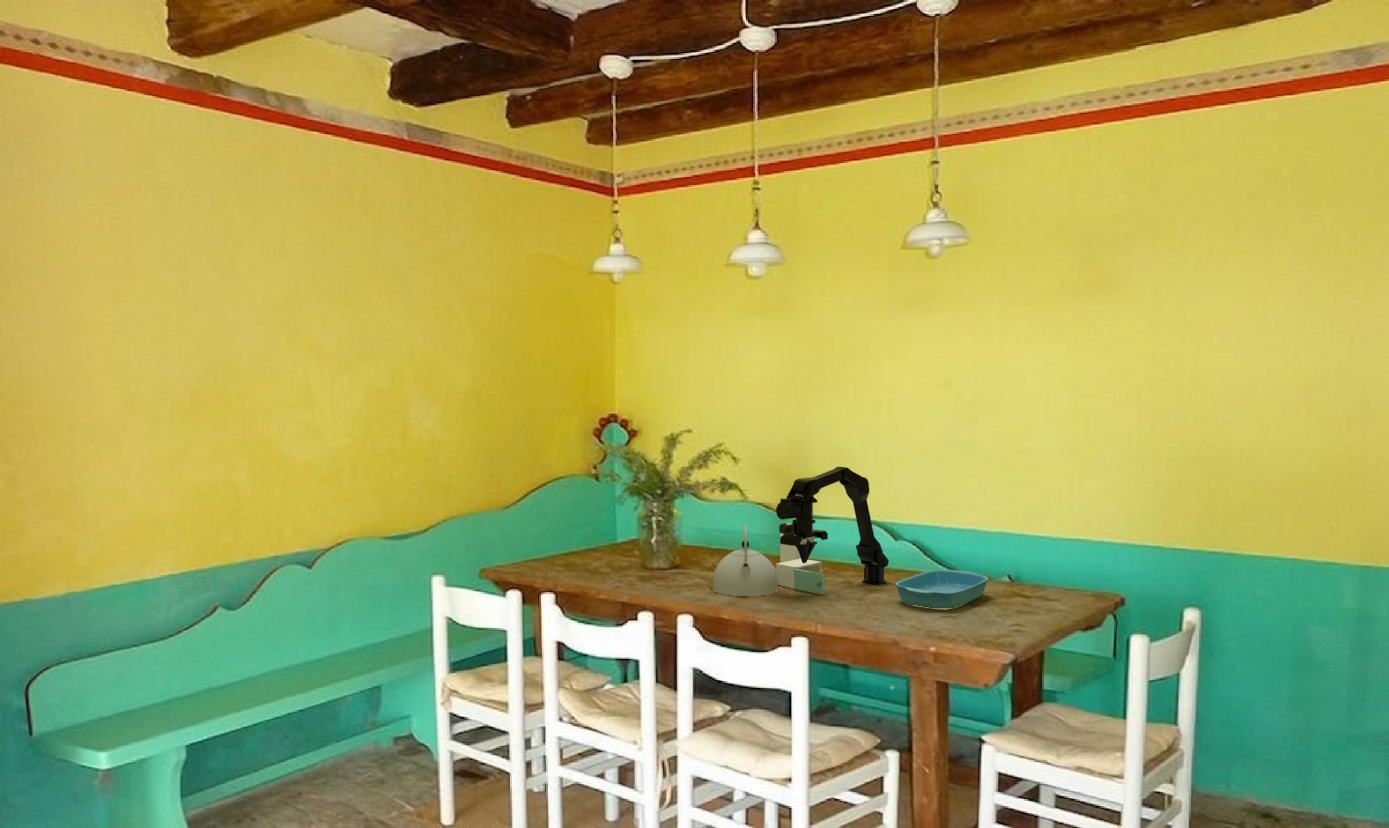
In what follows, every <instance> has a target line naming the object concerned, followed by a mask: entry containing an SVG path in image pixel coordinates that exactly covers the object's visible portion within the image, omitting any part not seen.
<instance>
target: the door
mask: <svg viewBox="0 0 1389 828" xmlns="http://www.w3.org/2000/svg"><path fill="white" fill-rule="evenodd" d="M825 585H826V574H825V573H823V572H821V573H817V572H811V571H806V570H800V569H794V590H800V591H804V592H809V593H814V594H819V595H824V594H825V593H826V586H825Z"/></svg>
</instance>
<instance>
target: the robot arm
mask: <svg viewBox="0 0 1389 828" xmlns="http://www.w3.org/2000/svg"><path fill="white" fill-rule="evenodd" d="M838 482H839V484H840V485H842V486H843V487H844V491H845V493H846V495H847V496H848V498H849V499H850V500H851V501H852V504H853V505H852V506H853V510H854V514H855V520H856V524H857V525H856V526H857V529H858V534H859V539H860V540H859V542H858V544H856V546H855V549H856V551H857V552H856V553H857V554H856V556H857V557H858V558H859V559H860V565H864V568H863V580H861V582H862V583H864V582H865V583H866V584H871V585H880V584H885V583H887V582H888V581H887V580H885V568H886V567H888V565H889V562H890V560H889V559H888V557H887V556H886V555H885V554H884V553H883V552H884V551H883V548H882V545H881V543H880V542H879V540H878V539H877V538H876V537H875V533H874V529H873V525H872V524H873V523H872V520H871V514H870V513H871V512H870V509H869V504H868V498H869V495H870V482H869V479H868V478H866V477H865V476H861V475H860V474H858V473H856V472H854V471H853V470H851V469H850V468H849V467H845V466H836V467H835V468H833V469H830V470H828V471H825V472H823V473H820V474H818V475H815V476H812V477H811V476H810V477H802V478H797V479H794V481H793V484H792V486H791V487H790V490H789V492H788V494H787V496H786V498H780V502H779V503H777V506H776V508H775V513H776V516H777V517H778V518H779V520H781V521H783V520H789V519H792V522H791V523H792V524H791V525H787V524H786V523H787V522H784V523H780V524H779V526H778V527H779V528H778V529H779V530H778V531H779V534H783V536H781V537H780V538H779V545H780V544H784V545H791V546H796V548H797V549H798V552H799V555H800V558H801V561H802V563H806V562H807V560H809V558H810V556H811V553H812V551H813V550H814V548H815V546H816V545H817V544H818V541H815V539H820V540H821V541H825V540H828V538H829V533H828V532H827V531H826V530H823V529H822V530H821V529H814V528H813V527H814V524H816V519H813V518H814V517H813V516H814V512H813V511H814V507H813V506H814V504H816V503H818V499H816V497H814V496H815V495H817V494H818V493H819V492H820V490H821V489H823V488H825V487H829V486H830V485H833V484H835V483H838ZM865 583H864V584H865Z"/></svg>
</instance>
